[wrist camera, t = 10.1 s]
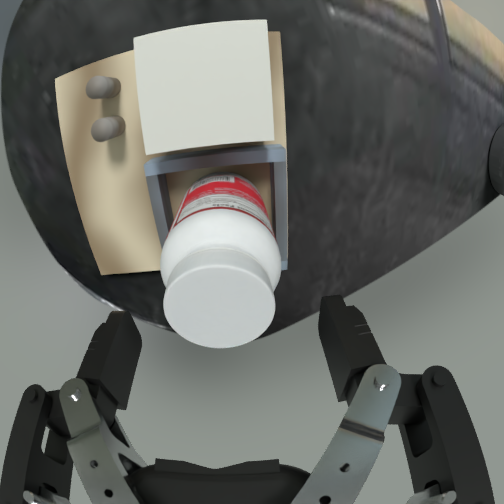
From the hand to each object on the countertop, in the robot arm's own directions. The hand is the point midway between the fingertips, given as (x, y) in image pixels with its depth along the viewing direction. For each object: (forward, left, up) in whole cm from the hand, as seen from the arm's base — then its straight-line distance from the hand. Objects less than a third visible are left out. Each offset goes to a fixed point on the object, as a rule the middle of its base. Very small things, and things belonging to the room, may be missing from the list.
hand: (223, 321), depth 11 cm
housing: (0, -9, -11) cm, 15 cm away
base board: (+4, -4, -13) cm, 14 cm away
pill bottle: (0, 0, -12) cm, 12 cm away
